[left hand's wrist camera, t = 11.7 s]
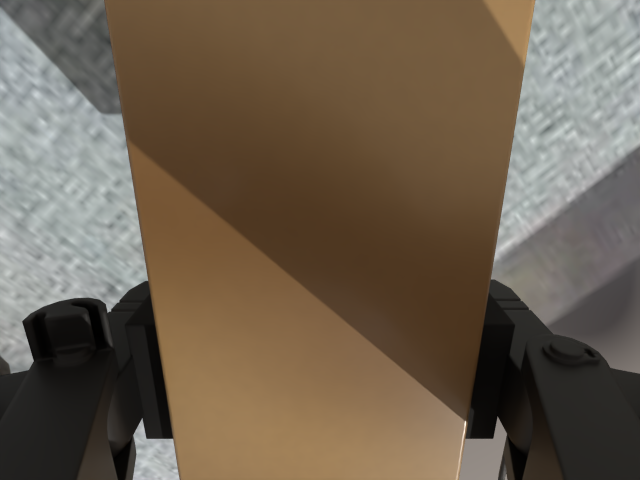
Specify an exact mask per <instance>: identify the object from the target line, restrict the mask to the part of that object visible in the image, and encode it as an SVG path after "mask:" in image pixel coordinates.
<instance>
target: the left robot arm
mask: <svg viewBox="0 0 640 480" xmlns="http://www.w3.org/2000/svg"><path fill="white" fill-rule="evenodd" d="M22 322H23V326H24V329H25V332H26V336H27V339H28V343H29V346H30V349H31V353H32V356H33V359H34V362H33V364H32V366H31V367H30V369H29V370H27V371H23V372H18V373H12V374H7V375H2V376H0V480H133V473H134V467H135V460H136V448H135V442H134V437H133V434H134V432H135V430H136V429H137V427H138V425H139V423H140V421H141V419H142V418H143V423H144V428H145V433H146V438H147V439H173V434H172V427H171V421H170V415H169V408H168V402H167V396H166V389H165V383H164V377H163V370H162V364H161V358H160V351H159V345H158V339H157V332H156V326H155V320H154V313H153V307H152V300H151V294H150V288H149V281H145V282H143V283H141V284H139V285H137V286H136V287H134V288H132V289H130V290H129V291H128V292H127V293H126V294H125V295H124V296H123V297H122V299H121V300H120V302H119V303H117V304H116V305H115V306H114V307H113V308H112V309H111V312H109V313H107V308H106V304H105V303H103V302H102V301H101V300H98V299H93V298H74V299H69V300H64V301H59V302H56V303H53V304H50V305H47V306H44V307H42V308H40V309H38V310H37V311H35V312H33V313H31V314H30V315H29V316H28V317H27V318H25V319H24V320H23V321H22ZM497 416H498V418H499V419H500V421H501V423H502V425H503V427H504V429H505V431H506V432H507V437H506V442H505V447H504V451H503V456H502V461H501V466H500V471H499V477H498V480H505V476H506V474H507V479H508V480H640V374H638V373H632V372H627V371H622V370H617V369H613V368H610V367H609V365H608V363H607V361H606V360H605V359H604V358H603V357H602V356H601V354H600V353H599V352H598V351H596V350H595V349H593V348H591V347H590V346H588V345H587V344H585V343H582V342H580V341H577V340H575V339H572V338H569V337H565V336H560V335H554V334H553V333H552V332H551V331H550V330H549V329H548V328H547V327H546V326H545V325H544V324H543V323H542V322H541V321H540V319H539V318H538V317H537V316H536V315H535V314H534V313H533V312H532V311H531V310H529V308H528V307H527V306H526V304H525V303H524V302H523V301H521V299H520V298H519V297H518V296H517V295H516V294H515V293H514V292H513V291H512V289H511V288H509V287H507V286H505V285H503V284H502V283H500V282H498V281H496V280H490V287H489V293H488V299H487V306H486V312H485V318H484V324H483V331H482V337H481V343H480V349H479V356H478V362H477V368H476V375H475V381H474V387H473V393H472V400H471V406H470V412H469V418H468V425H467V431H466V437H465V439H493V437H494V432H495V427H496V421H497Z"/></svg>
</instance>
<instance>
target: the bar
mask: <svg viewBox="0 0 640 480" xmlns="http://www.w3.org/2000/svg"><path fill="white" fill-rule="evenodd" d="M104 2H105V9H106V15H107V21H108V28H109V34H110V40H111V47H112V53H113V59H114V66H115V72H116V78H117V85H118V91H119V97H120V104H121V110H122V116H123V123H124V129H125V135H126V142H127V148H128V155H129V161H130V167H131V174H132V180H133V186H134V193H135V199H136V205H137V212H138V218H139V224H140V231H141V237H142V243H143V250H144V256H145V262H146V269H147V275H148V281H149V288H150V294H151V300H152V307H153V313H154V320H155V326H156V332H157V339H158V345H159V351H160V358H161V364H162V370H163V377H164V383H165V389H166V396H167V402H168V408H169V415H170V421H171V427H172V434H173V440H174V446H175V453H176V459H177V465H178V472H179V478H180V480H459V474H460V468H461V462H462V456H463V450H464V444H465V437H466V431H467V425H468V418H469V412H470V406H471V400H472V393H473V387H474V381H475V375H476V368H477V362H478V356H479V349H480V343H481V337H482V331H483V324H484V318H485V312H486V306H487V299H488V293H489V287H490V280H491V274H492V268H493V262H494V255H495V249H496V243H497V237H498V230H499V224H500V218H501V211H502V205H503V199H504V193H505V186H506V180H507V174H508V168H509V161H510V155H511V149H512V142H513V136H514V130H515V124H516V117H517V111H518V105H519V99H520V92H521V86H522V80H523V73H524V67H525V61H526V55H527V48H528V42H529V36H530V30H531V23H532V17H533V11H534V4H535V0H104Z"/></svg>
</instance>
